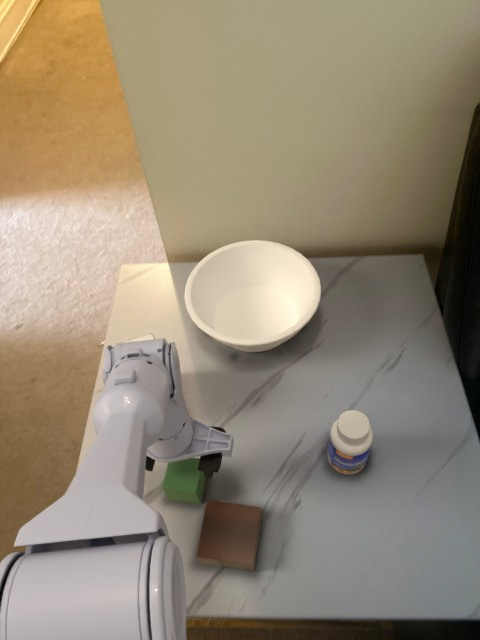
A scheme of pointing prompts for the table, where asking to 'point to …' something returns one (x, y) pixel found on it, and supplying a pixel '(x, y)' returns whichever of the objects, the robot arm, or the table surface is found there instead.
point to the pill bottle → (349, 442)
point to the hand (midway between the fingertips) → (181, 467)
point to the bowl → (253, 294)
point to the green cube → (184, 481)
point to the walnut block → (229, 535)
